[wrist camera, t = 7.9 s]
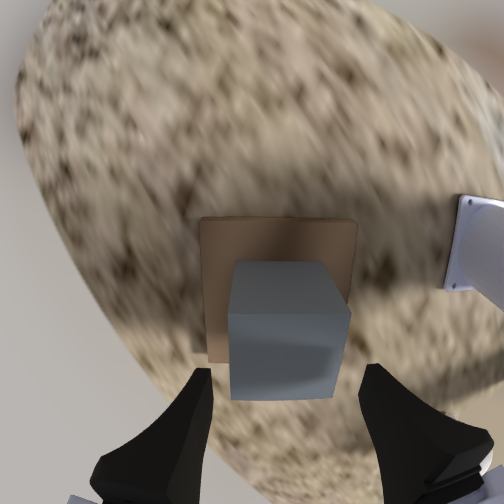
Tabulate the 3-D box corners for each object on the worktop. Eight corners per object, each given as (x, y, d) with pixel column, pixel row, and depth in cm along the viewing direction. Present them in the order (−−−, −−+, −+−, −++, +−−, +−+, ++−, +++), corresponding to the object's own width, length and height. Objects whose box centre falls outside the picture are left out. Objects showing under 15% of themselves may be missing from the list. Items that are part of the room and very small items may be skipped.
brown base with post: (352, 219, 20) (387, 247, 14) (333, 352, 23) (351, 404, 18) (202, 217, 20) (182, 245, 14) (210, 353, 23) (200, 407, 18)
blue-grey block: (322, 261, 19) (351, 313, 13) (313, 333, 21) (332, 397, 15) (235, 260, 19) (227, 313, 13) (236, 333, 21) (230, 399, 15)
